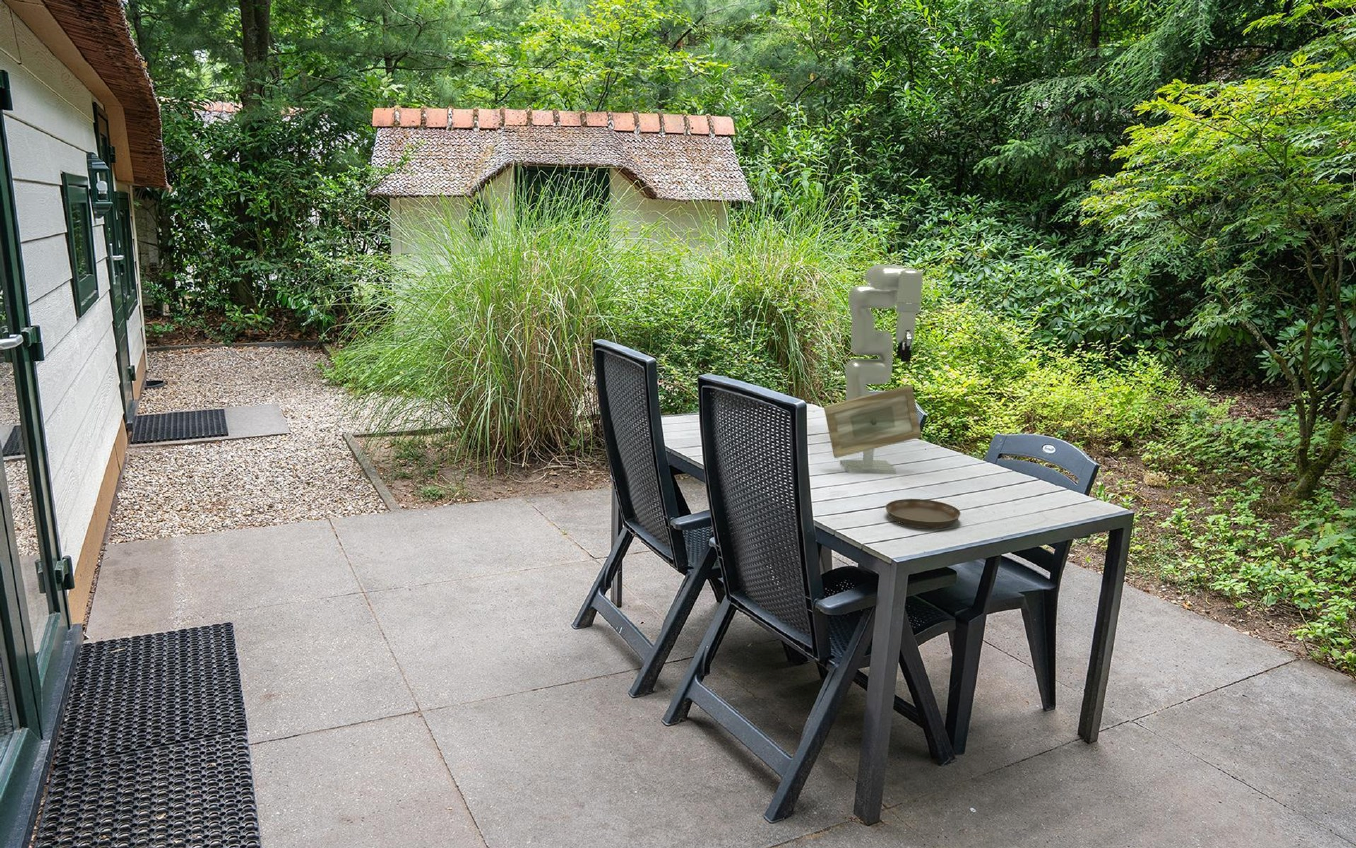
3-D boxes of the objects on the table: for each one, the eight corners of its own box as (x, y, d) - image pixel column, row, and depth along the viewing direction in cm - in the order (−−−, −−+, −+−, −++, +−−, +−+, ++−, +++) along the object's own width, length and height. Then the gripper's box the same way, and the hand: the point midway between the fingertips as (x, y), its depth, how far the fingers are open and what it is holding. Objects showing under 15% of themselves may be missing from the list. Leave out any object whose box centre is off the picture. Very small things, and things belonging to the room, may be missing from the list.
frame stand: (840, 464, 325) (843, 413, 321) (885, 464, 326) (889, 414, 322) (848, 473, 313) (852, 420, 309) (895, 473, 314) (899, 421, 310)
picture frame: (834, 456, 316) (823, 406, 312) (919, 435, 316) (910, 384, 312) (835, 458, 314) (825, 407, 310) (922, 437, 314) (912, 386, 310)
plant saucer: (914, 535, 252) (915, 523, 251) (870, 513, 270) (871, 502, 270) (975, 527, 260) (976, 516, 260) (927, 506, 279) (928, 495, 278)
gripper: (893, 304, 315) (889, 354, 319) (899, 310, 299) (895, 363, 302) (915, 305, 315) (911, 355, 318) (923, 311, 298) (918, 364, 302)
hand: (903, 359), depth 310 cm, fingers open, 9 cm apart
